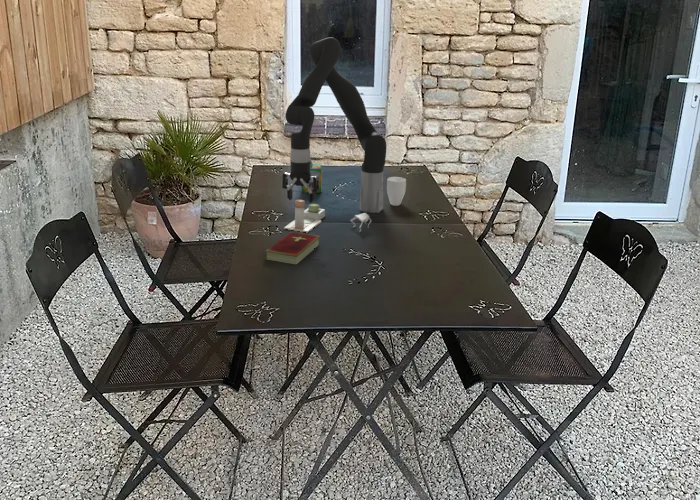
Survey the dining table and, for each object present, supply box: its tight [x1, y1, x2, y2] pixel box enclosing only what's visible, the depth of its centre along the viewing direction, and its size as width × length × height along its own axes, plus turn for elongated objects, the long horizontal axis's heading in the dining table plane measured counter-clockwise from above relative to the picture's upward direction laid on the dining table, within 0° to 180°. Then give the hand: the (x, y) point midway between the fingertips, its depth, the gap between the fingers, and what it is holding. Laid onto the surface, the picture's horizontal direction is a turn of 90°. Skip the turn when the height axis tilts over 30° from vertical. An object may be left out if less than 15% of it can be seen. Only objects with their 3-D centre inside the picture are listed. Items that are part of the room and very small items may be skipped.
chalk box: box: [301, 157, 323, 194], centre depth 308 cm, size 9×9×15 cm
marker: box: [294, 199, 306, 228], centre depth 260 cm, size 4×4×10 cm
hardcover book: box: [264, 231, 321, 265], centre depth 238 cm, size 12×21×4 cm, turn 160°
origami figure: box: [349, 212, 372, 233], centre depth 263 cm, size 12×8×5 cm
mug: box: [386, 176, 407, 207], centre depth 295 cm, size 12×8×11 cm
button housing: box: [304, 207, 326, 221], centre depth 274 cm, size 7×7×3 cm
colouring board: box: [283, 218, 322, 234], centre depth 265 cm, size 10×14×1 cm
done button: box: [308, 203, 320, 213], centre depth 273 cm, size 4×4×3 cm
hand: (300, 200), depth 257 cm, fingers open, 8 cm apart
